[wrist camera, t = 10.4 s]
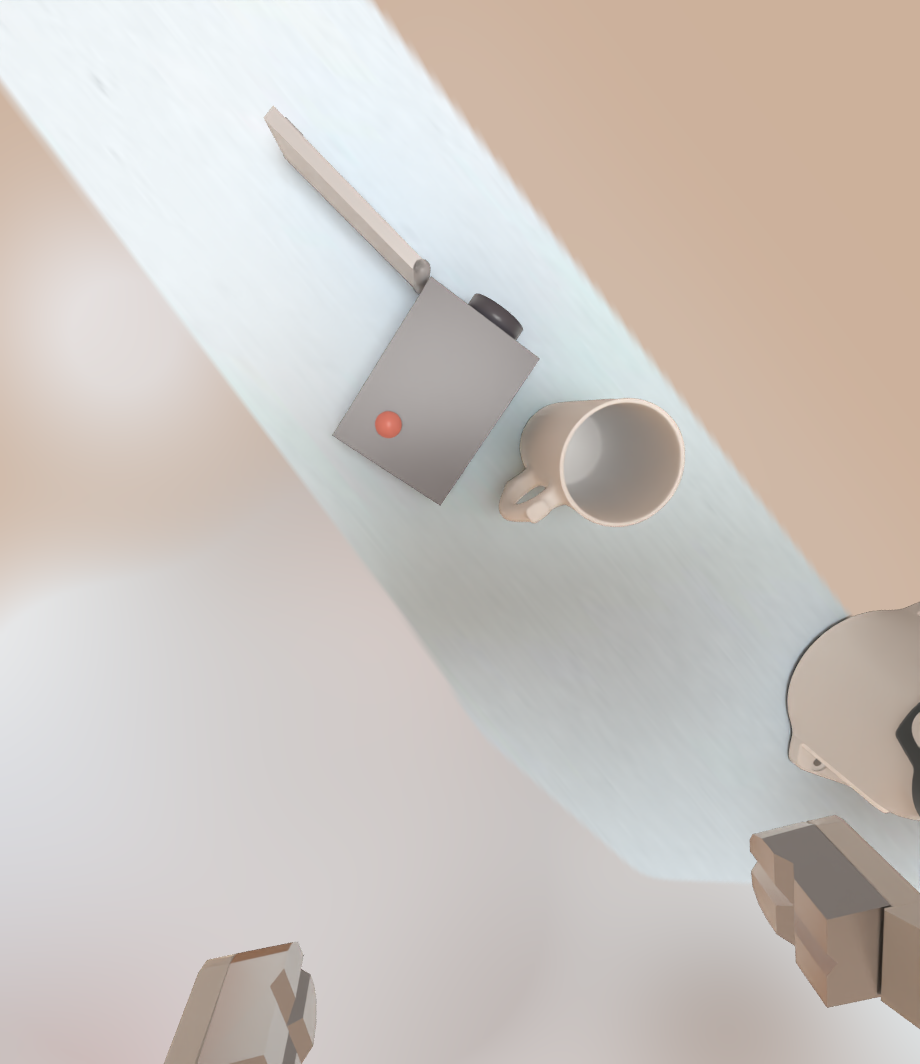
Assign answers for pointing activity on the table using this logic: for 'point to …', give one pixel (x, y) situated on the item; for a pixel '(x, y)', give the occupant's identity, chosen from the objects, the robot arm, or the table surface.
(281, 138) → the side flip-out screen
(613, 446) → the mug
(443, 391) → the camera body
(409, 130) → the table surface
